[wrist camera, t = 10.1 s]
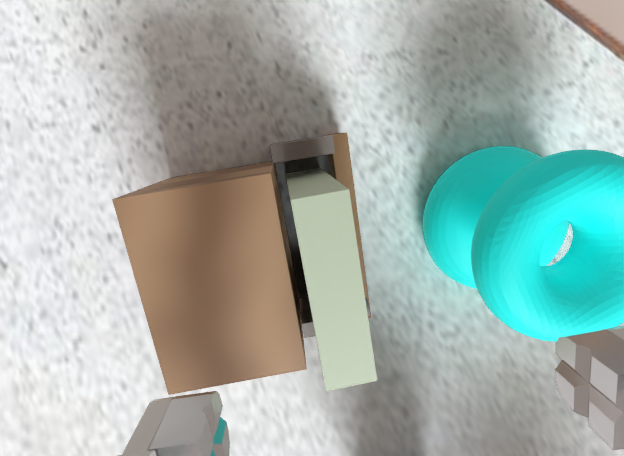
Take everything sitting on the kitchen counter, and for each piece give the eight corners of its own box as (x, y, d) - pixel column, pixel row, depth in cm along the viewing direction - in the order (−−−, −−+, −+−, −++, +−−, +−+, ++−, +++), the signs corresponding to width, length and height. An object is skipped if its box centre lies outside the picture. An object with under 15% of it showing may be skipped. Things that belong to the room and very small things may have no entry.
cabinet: (339, 133, 26) (369, 131, 17) (362, 299, 29) (397, 371, 20) (166, 161, 25) (105, 174, 16) (207, 327, 28) (174, 413, 19)
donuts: (532, 385, 20) (457, 219, 17) (449, 302, 29) (394, 189, 27) (712, 293, 19) (662, 109, 17) (567, 240, 29) (522, 119, 26)
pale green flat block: (331, 165, 26) (368, 185, 15) (350, 286, 28) (394, 377, 18) (285, 174, 26) (290, 200, 15) (308, 295, 28) (326, 391, 18)
